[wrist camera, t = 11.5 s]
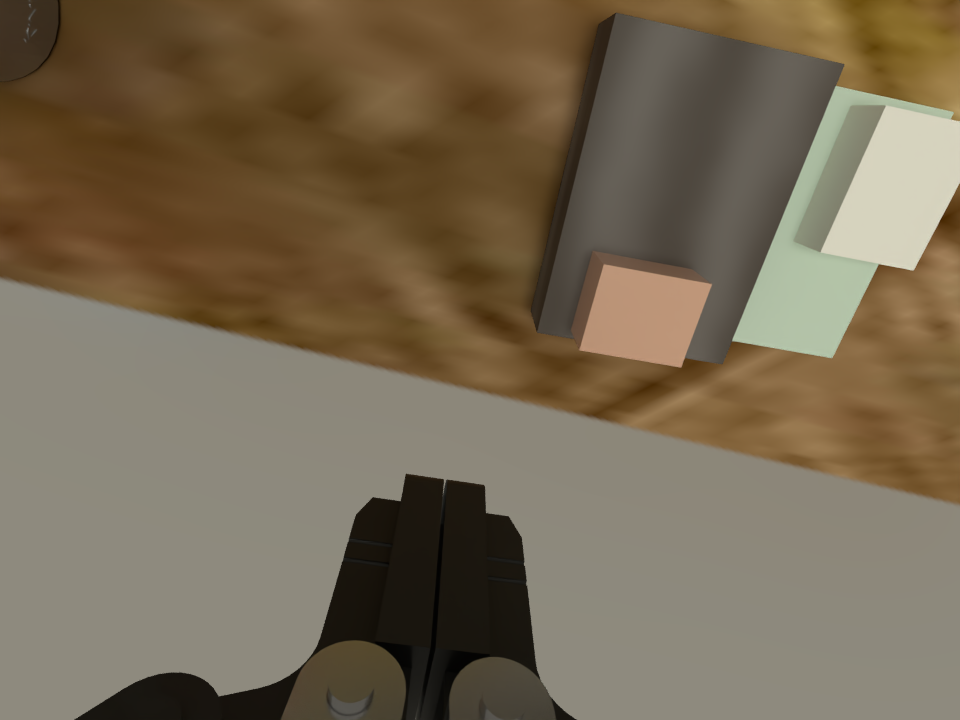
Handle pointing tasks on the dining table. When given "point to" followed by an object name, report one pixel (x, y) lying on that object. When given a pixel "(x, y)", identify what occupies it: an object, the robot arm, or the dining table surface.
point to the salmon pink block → (638, 309)
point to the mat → (811, 257)
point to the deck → (681, 165)
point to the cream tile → (884, 186)
